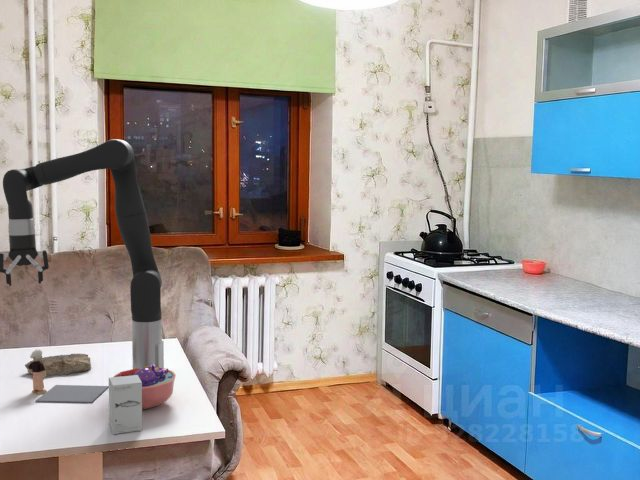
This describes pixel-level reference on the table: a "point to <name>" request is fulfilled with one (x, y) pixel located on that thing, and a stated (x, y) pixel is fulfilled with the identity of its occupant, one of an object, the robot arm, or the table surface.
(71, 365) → the clay tablet
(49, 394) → the felt mat
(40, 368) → the grandmother figurine
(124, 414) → the supplement box
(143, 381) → the cell model
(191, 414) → the table surface
